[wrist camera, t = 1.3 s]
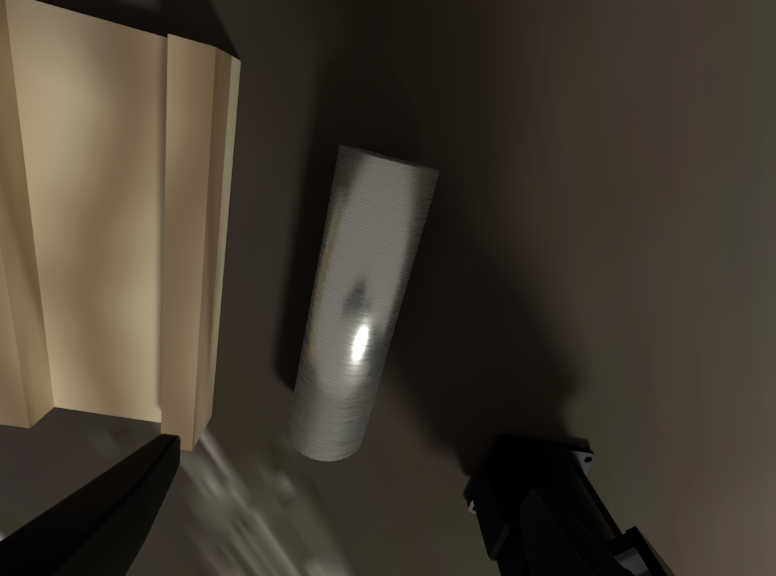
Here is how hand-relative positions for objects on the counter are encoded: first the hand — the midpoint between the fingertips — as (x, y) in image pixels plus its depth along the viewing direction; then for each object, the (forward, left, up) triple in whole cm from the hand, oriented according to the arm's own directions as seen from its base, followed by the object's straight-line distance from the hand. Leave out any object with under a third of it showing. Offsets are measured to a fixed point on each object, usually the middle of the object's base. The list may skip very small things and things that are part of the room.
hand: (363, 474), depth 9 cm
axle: (0, 0, -10) cm, 10 cm away
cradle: (+12, 0, -10) cm, 15 cm away
